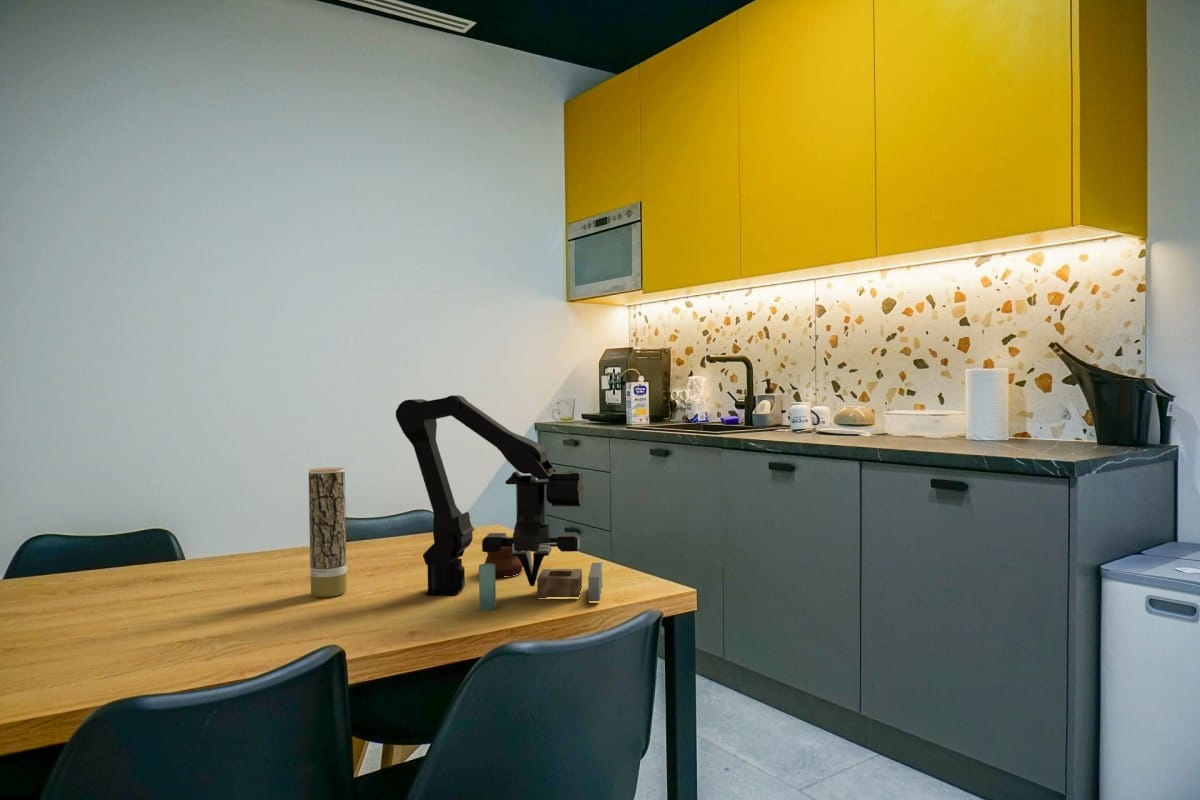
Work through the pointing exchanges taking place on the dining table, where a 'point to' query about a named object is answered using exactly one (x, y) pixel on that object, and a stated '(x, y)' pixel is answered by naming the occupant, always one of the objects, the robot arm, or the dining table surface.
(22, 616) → the dining table surface
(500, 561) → the ceramic pot
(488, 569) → the dowel
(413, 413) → the robot arm
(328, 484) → the paper tube
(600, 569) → the bar
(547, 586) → the block
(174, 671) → the dining table surface
